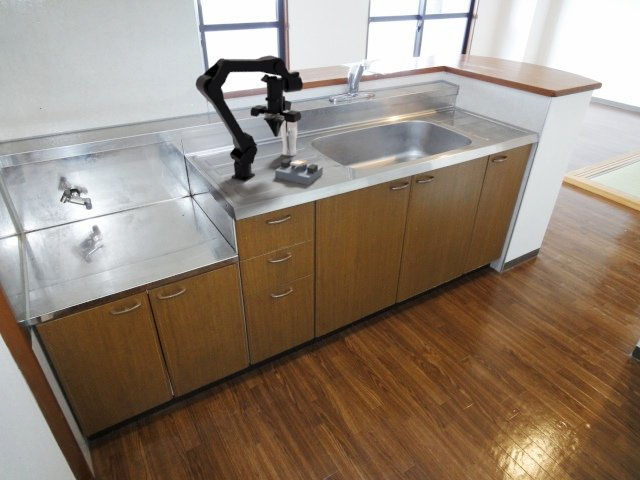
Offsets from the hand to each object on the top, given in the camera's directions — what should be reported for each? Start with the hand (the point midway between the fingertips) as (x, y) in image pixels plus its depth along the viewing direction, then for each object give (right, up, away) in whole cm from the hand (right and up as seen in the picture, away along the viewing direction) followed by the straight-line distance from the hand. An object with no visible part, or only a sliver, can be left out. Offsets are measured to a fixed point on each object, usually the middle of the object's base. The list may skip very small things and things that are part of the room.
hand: (276, 136), depth 160 cm
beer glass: (+3, -2, +21) cm, 22 cm away
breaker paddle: (+9, -10, -1) cm, 14 cm away
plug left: (+4, -11, +2) cm, 12 cm away
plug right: (+14, -14, -2) cm, 19 cm away
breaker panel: (+9, -15, +1) cm, 17 cm away
